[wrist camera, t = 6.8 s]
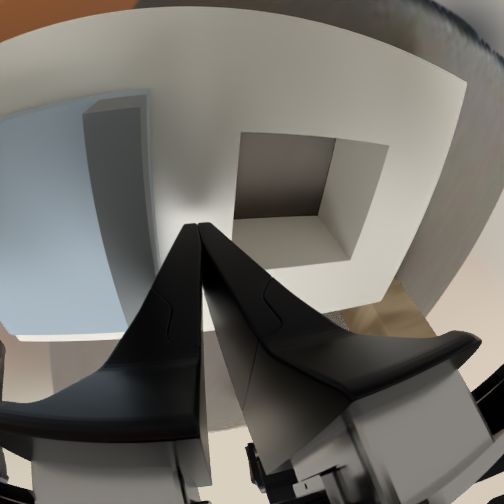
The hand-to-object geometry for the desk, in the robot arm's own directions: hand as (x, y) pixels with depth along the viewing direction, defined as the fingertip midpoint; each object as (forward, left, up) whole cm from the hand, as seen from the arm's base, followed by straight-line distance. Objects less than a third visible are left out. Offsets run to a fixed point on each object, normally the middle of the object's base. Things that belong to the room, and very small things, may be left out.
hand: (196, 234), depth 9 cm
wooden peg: (-11, -14, -5) cm, 19 cm away
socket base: (0, -1, -5) cm, 5 cm away
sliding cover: (0, +5, -1) cm, 5 cm away
